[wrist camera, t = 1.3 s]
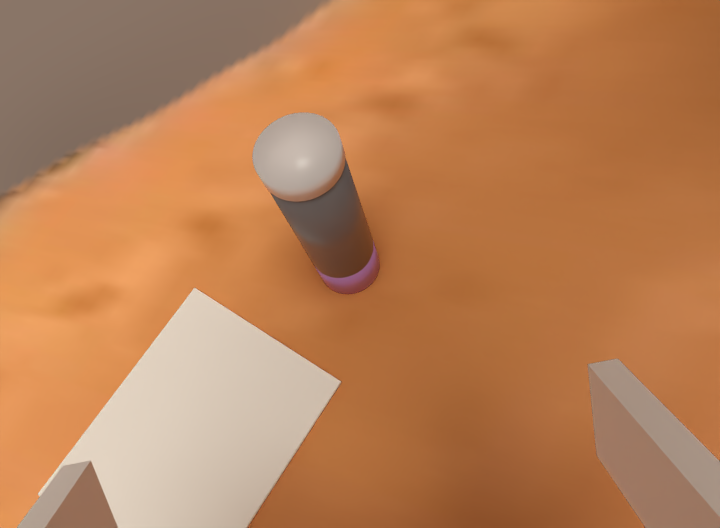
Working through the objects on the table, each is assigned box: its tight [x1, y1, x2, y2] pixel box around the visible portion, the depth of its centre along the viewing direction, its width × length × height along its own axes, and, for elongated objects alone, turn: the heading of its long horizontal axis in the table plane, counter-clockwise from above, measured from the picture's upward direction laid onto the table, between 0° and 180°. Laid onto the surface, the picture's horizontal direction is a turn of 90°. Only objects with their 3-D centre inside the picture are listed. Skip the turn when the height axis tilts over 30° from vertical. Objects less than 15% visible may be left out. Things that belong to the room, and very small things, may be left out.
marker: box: [253, 113, 380, 294], centre depth 29 cm, size 4×4×12 cm
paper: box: [38, 288, 341, 528], centre depth 32 cm, size 14×11×1 cm
